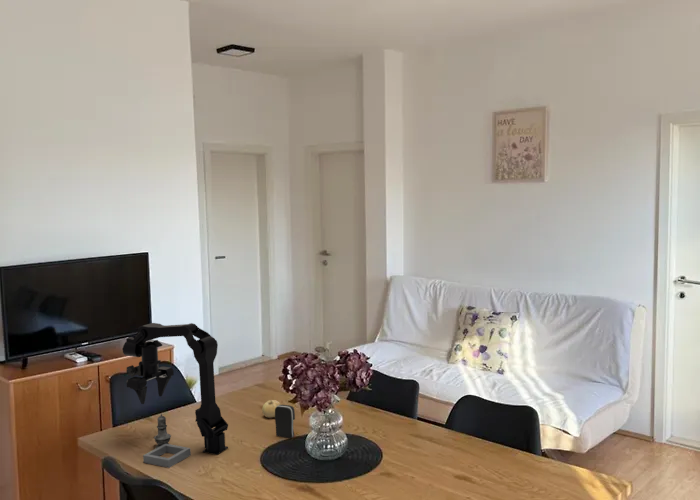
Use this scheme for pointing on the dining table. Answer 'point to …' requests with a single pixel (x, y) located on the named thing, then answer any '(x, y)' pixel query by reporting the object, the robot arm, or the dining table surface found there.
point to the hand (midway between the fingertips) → (151, 400)
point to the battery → (284, 420)
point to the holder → (155, 458)
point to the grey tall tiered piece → (162, 432)
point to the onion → (270, 408)
